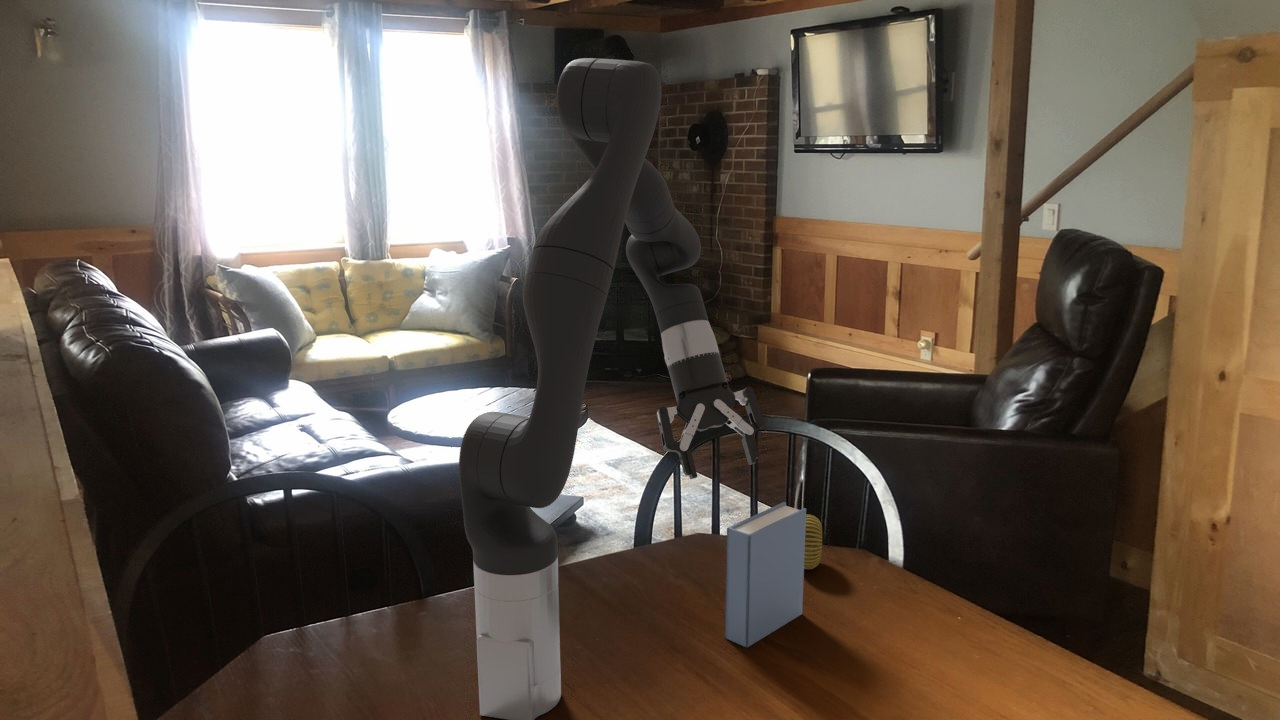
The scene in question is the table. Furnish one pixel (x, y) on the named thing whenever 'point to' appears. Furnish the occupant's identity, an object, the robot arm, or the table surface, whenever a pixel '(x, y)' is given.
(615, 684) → the table surface
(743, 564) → the book
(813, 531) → the sculpture
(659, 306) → the robot arm
